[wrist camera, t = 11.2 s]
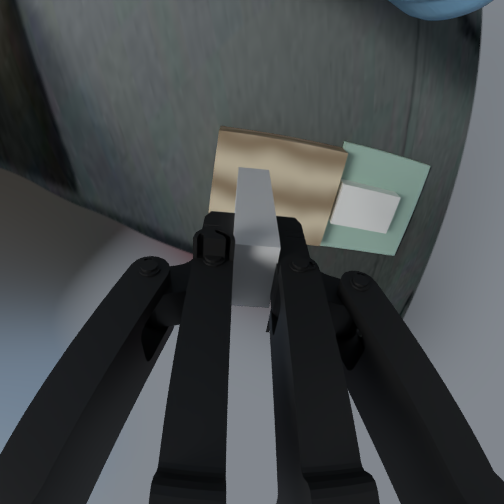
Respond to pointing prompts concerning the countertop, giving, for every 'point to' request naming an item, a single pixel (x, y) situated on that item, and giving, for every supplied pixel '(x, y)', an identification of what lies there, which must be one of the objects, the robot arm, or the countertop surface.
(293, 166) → the wooden board
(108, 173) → the countertop surface
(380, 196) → the white rectangular block
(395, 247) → the mat
